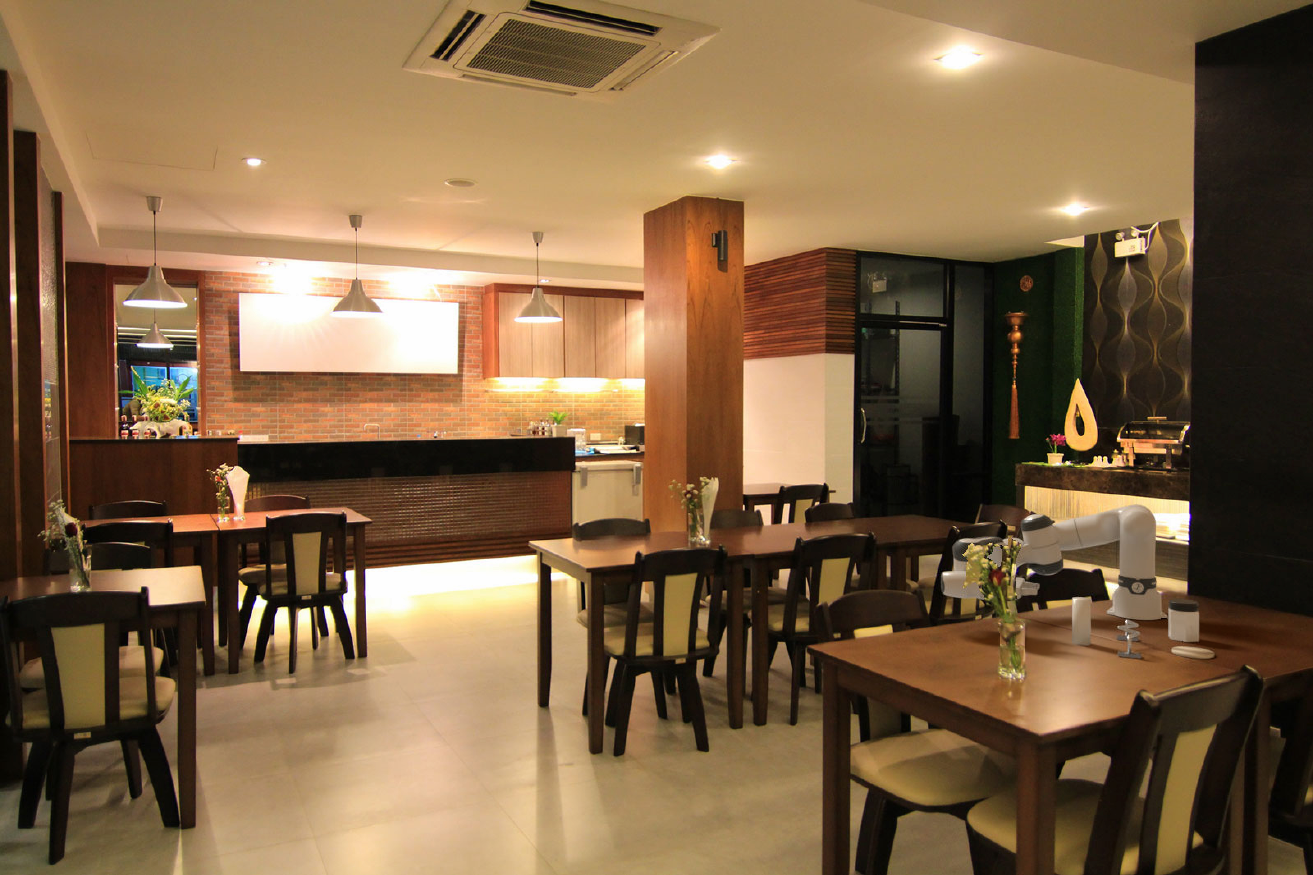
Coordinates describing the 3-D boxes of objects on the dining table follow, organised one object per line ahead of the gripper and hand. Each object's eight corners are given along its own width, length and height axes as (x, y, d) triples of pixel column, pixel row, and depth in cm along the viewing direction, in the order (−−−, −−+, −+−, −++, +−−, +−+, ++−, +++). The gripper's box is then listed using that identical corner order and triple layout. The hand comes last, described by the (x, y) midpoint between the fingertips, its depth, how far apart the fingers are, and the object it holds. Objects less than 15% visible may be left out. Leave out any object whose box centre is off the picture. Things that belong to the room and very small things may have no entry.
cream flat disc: (1170, 647, 276) (1170, 644, 276) (1212, 651, 271) (1212, 648, 271) (1172, 656, 266) (1172, 653, 266) (1216, 660, 261) (1216, 657, 261)
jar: (1179, 642, 282) (1179, 604, 281) (1161, 636, 290) (1161, 599, 289) (1205, 641, 283) (1206, 603, 282) (1187, 635, 291) (1187, 598, 291)
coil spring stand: (1116, 637, 289) (1116, 617, 289) (1137, 639, 286) (1137, 619, 286) (1118, 656, 266) (1118, 635, 266) (1141, 659, 264) (1141, 637, 264)
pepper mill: (1072, 640, 285) (1072, 596, 285) (1090, 642, 283) (1090, 597, 283) (1072, 644, 281) (1072, 599, 280) (1090, 646, 278) (1090, 601, 278)
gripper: (995, 590, 302) (1040, 593, 296) (988, 601, 284) (1036, 605, 278) (995, 571, 302) (1040, 574, 296) (988, 581, 284) (1035, 584, 278)
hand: (1038, 589), depth 287 cm, fingers open, 8 cm apart
